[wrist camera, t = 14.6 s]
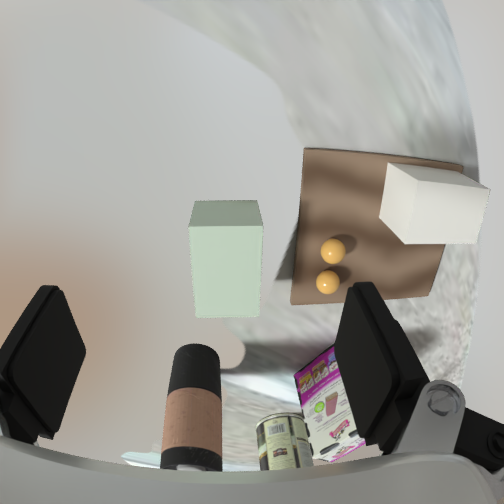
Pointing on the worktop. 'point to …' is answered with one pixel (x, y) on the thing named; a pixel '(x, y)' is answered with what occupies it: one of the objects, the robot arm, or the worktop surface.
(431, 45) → the worktop surface
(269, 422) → the coffee can
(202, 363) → the travel mug
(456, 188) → the white block
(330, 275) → the marble
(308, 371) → the candy bar box
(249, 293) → the pale green block
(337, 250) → the marble
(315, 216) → the walnut board
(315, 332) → the worktop surface
